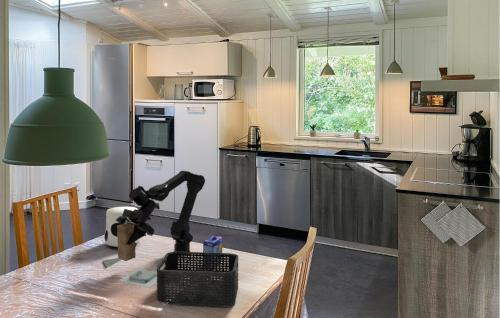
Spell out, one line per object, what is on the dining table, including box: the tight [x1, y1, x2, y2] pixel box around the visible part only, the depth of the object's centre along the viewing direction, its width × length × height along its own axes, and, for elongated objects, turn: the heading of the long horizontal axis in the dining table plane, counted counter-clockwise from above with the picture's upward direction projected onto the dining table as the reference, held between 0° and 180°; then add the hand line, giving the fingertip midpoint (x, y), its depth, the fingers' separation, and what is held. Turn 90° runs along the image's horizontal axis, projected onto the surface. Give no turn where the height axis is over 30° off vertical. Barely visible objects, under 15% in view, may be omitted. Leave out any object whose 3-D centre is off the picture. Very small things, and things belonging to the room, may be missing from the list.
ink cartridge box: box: [202, 233, 224, 265], centre depth 182 cm, size 10×6×14 cm, turn 158°
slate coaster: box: [102, 257, 122, 269], centre depth 182 cm, size 10×10×1 cm
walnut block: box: [117, 223, 137, 262], centre depth 170 cm, size 5×5×14 cm
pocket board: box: [118, 268, 157, 288], centre depth 166 cm, size 14×14×2 cm
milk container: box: [104, 206, 141, 249], centre depth 206 cm, size 17×17×18 cm
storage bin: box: [156, 251, 239, 308], centre depth 153 cm, size 29×19×13 cm
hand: (123, 243), depth 169 cm, fingers closed on walnut block, 5 cm apart
